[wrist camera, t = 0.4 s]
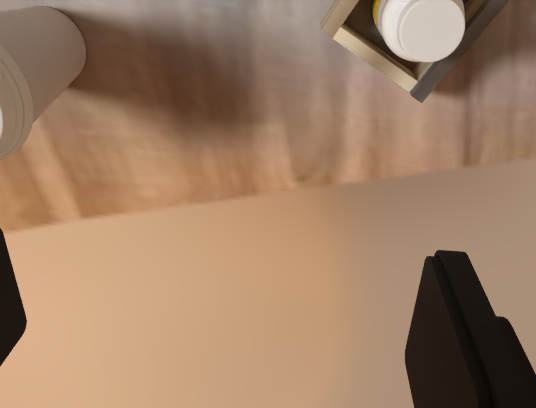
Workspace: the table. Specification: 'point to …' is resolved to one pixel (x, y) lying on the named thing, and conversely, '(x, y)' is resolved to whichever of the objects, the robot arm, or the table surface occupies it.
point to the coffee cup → (34, 68)
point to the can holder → (424, 73)
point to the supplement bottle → (420, 27)
